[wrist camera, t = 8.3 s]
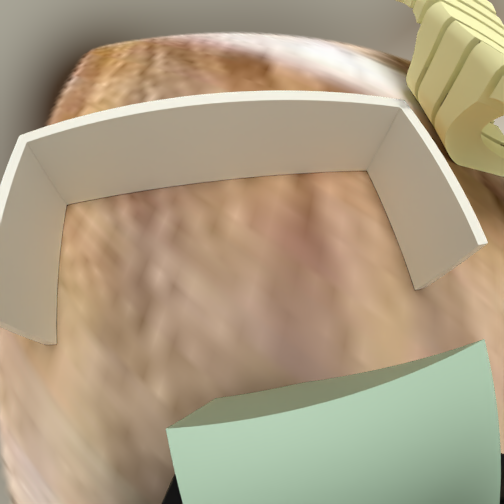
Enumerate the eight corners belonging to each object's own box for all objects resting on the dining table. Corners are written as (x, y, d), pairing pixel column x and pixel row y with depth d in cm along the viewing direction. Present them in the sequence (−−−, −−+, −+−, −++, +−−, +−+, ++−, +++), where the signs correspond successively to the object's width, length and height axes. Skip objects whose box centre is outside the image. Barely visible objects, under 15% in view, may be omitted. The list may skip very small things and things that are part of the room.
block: (317, 459, 13) (493, 550, 2) (231, 477, 12) (243, 652, 1) (301, 382, 15) (484, 339, 3) (215, 398, 14) (165, 428, 3)
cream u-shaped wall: (425, 287, 19) (488, 242, 13) (44, 344, 15) (-26, 315, 9) (372, 161, 24) (404, 100, 17) (58, 196, 20) (19, 135, 14)
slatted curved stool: (373, 55, 34) (406, -43, 18) (453, 81, 36) (491, 3, 20) (466, 234, 21) (594, 94, 5) (542, 239, 23) (631, 154, 7)
